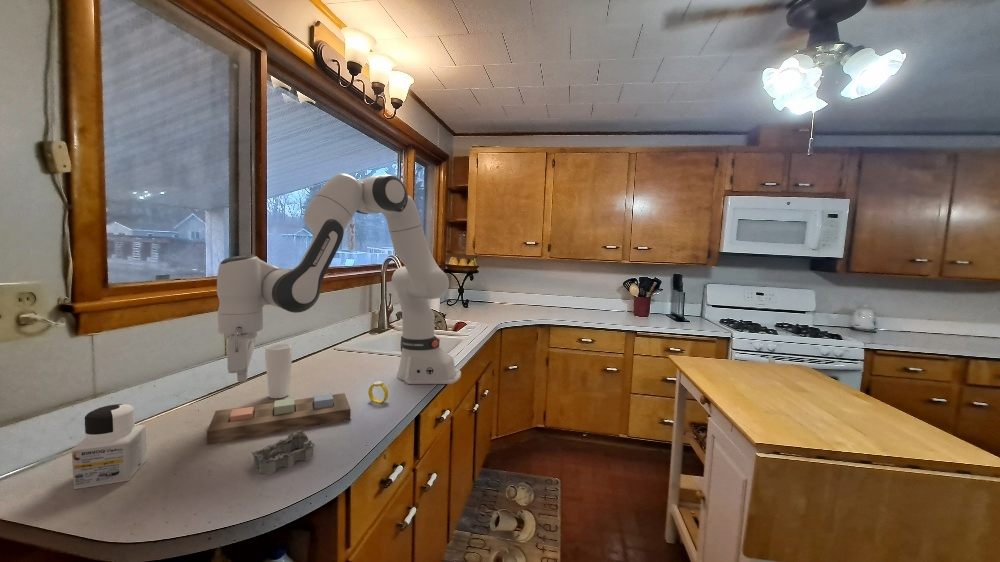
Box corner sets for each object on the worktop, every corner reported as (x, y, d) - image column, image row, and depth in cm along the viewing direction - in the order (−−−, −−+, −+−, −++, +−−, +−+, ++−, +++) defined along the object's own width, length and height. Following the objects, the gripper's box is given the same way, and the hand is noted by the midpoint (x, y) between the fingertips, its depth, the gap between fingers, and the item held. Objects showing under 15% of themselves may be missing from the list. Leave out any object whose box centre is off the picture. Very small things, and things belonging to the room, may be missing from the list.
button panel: (344, 403, 110) (344, 393, 110) (350, 420, 100) (350, 408, 99) (215, 422, 96) (215, 410, 95) (207, 444, 85) (206, 431, 85)
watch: (367, 403, 112) (366, 383, 111) (373, 399, 114) (372, 380, 114) (384, 405, 110) (383, 384, 109) (390, 401, 112) (389, 381, 112)
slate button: (331, 403, 105) (331, 393, 105) (333, 409, 101) (333, 398, 101) (313, 406, 103) (313, 395, 102) (314, 412, 99) (314, 401, 99)
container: (72, 490, 68) (68, 419, 67) (97, 467, 75) (94, 403, 74) (129, 481, 71) (126, 413, 70) (147, 460, 78) (145, 398, 77)
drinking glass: (297, 392, 117) (296, 344, 115) (282, 401, 110) (281, 349, 109) (276, 390, 117) (275, 342, 116) (260, 399, 111) (259, 348, 109)
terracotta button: (253, 418, 96) (253, 406, 96) (252, 425, 92) (252, 413, 92) (232, 421, 94) (232, 409, 94) (230, 429, 90) (229, 416, 90)
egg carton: (304, 445, 87) (304, 428, 86) (317, 459, 82) (317, 440, 81) (250, 463, 79) (249, 443, 79) (260, 478, 74) (260, 458, 74)
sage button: (294, 409, 100) (294, 398, 100) (294, 415, 97) (294, 404, 96) (274, 412, 98) (274, 400, 98) (274, 418, 94) (274, 407, 94)
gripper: (253, 331, 84) (255, 392, 85) (259, 315, 102) (260, 366, 103) (217, 333, 81) (220, 397, 82) (230, 316, 98) (232, 369, 100)
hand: (242, 379), depth 92 cm, fingers closed
